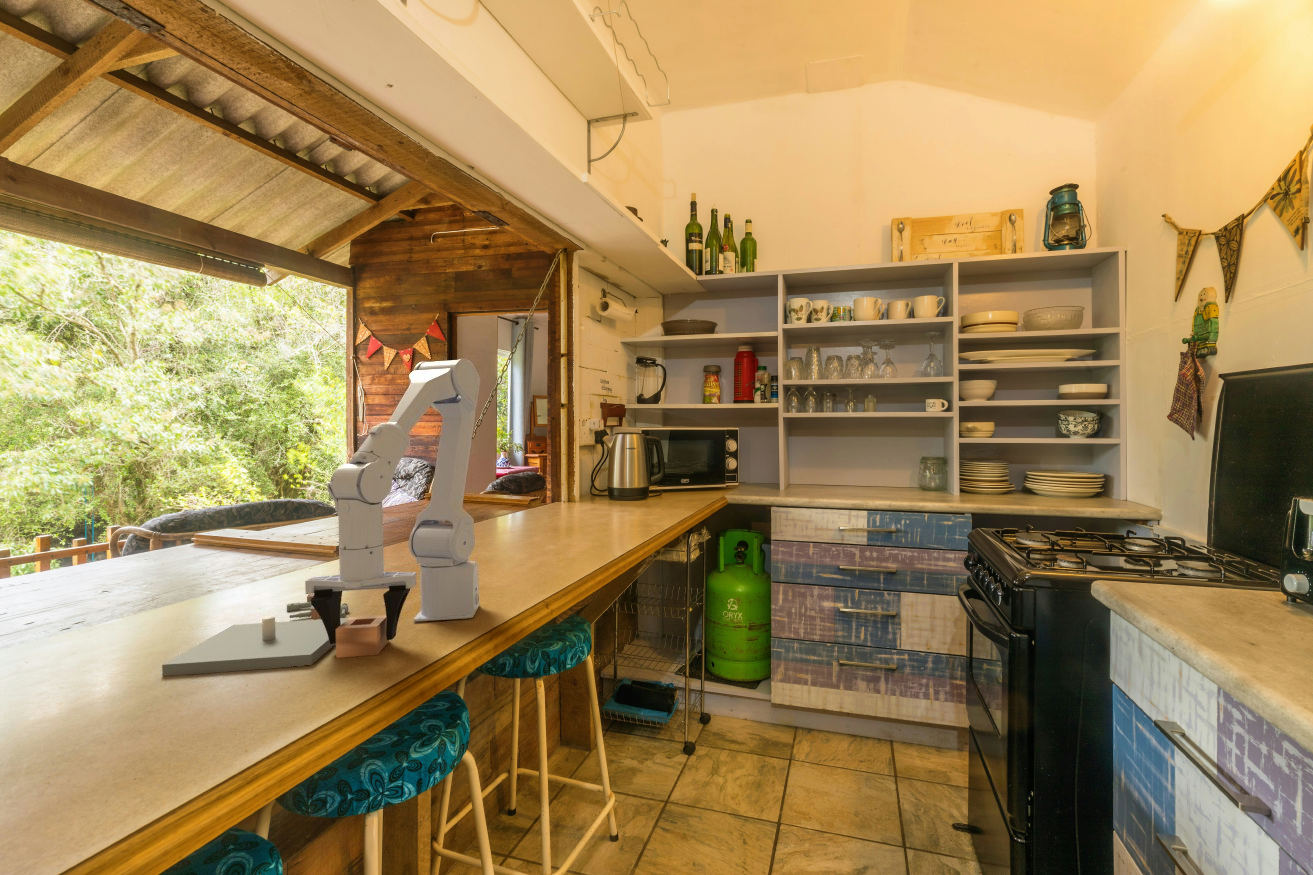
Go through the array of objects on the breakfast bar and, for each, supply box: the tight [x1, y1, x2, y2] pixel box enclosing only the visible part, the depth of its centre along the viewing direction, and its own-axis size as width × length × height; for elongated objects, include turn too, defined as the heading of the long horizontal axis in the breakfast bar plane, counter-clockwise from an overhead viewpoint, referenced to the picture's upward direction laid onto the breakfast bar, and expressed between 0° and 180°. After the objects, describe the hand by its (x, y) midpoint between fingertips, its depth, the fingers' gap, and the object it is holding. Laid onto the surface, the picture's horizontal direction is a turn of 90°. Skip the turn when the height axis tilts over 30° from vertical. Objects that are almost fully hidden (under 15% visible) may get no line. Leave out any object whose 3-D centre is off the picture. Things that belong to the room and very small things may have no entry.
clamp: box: [286, 593, 349, 619], centre depth 102 cm, size 15×2×10 cm
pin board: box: [161, 615, 350, 677], centre depth 84 cm, size 18×16×4 cm
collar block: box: [335, 614, 390, 659], centre depth 83 cm, size 5×5×4 cm
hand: (363, 639), depth 83 cm, fingers open, 7 cm apart
